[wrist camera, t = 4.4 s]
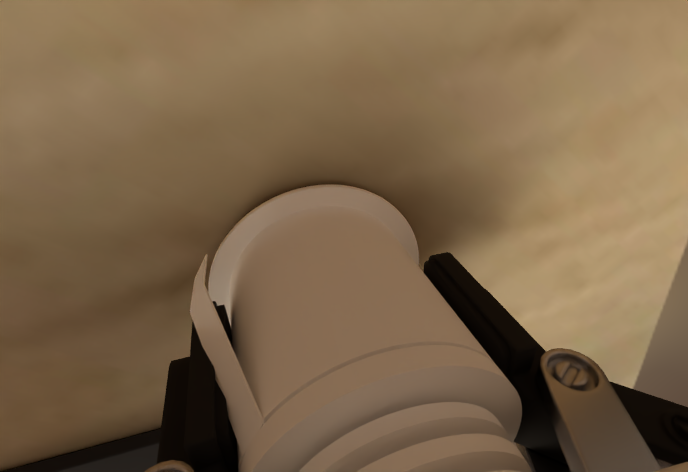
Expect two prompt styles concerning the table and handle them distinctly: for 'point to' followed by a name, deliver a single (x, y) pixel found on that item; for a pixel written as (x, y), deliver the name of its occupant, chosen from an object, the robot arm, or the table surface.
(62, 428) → the table surface
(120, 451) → the mat
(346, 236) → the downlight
